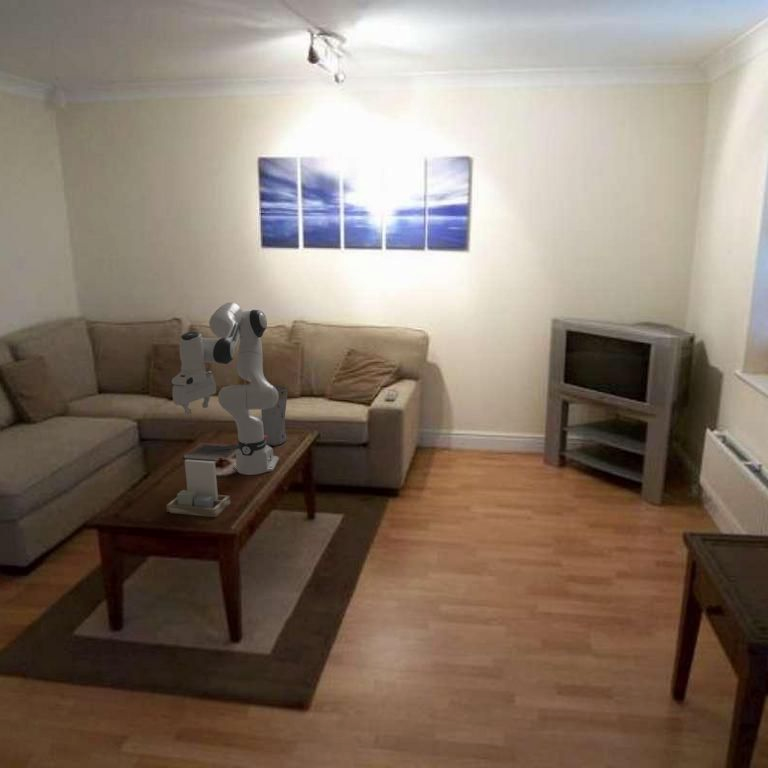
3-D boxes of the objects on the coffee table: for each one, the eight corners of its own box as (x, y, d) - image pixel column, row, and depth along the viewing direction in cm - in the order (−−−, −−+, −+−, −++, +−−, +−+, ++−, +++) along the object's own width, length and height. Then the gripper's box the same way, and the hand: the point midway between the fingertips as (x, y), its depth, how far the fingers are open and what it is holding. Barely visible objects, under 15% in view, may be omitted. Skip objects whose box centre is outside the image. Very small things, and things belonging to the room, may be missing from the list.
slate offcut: (200, 508, 260) (198, 495, 258) (214, 509, 258) (213, 496, 257) (195, 512, 256) (193, 499, 254) (209, 514, 254) (208, 500, 253)
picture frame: (242, 449, 323) (201, 447, 327) (241, 445, 322) (200, 442, 326) (227, 462, 307) (184, 459, 312) (226, 457, 306) (184, 454, 311)
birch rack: (183, 498, 268) (183, 491, 267) (230, 502, 264) (229, 495, 263) (167, 512, 256) (166, 505, 255) (215, 517, 252) (214, 509, 251)
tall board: (191, 501, 265) (186, 459, 261) (218, 504, 263) (214, 461, 258) (188, 503, 264) (184, 461, 259) (216, 505, 261) (212, 463, 256)
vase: (286, 447, 324) (284, 391, 317) (258, 446, 325) (256, 391, 317) (290, 438, 337) (289, 384, 330) (263, 437, 337) (261, 384, 330)
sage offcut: (183, 506, 261) (182, 490, 259) (197, 507, 260) (196, 491, 258) (178, 510, 257) (176, 494, 255) (192, 512, 256) (191, 495, 254)
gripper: (206, 369, 261) (209, 402, 265) (168, 380, 244) (171, 416, 247) (218, 370, 259) (221, 404, 262) (181, 382, 241) (184, 418, 244)
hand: (196, 410), depth 254 cm, fingers open, 8 cm apart
